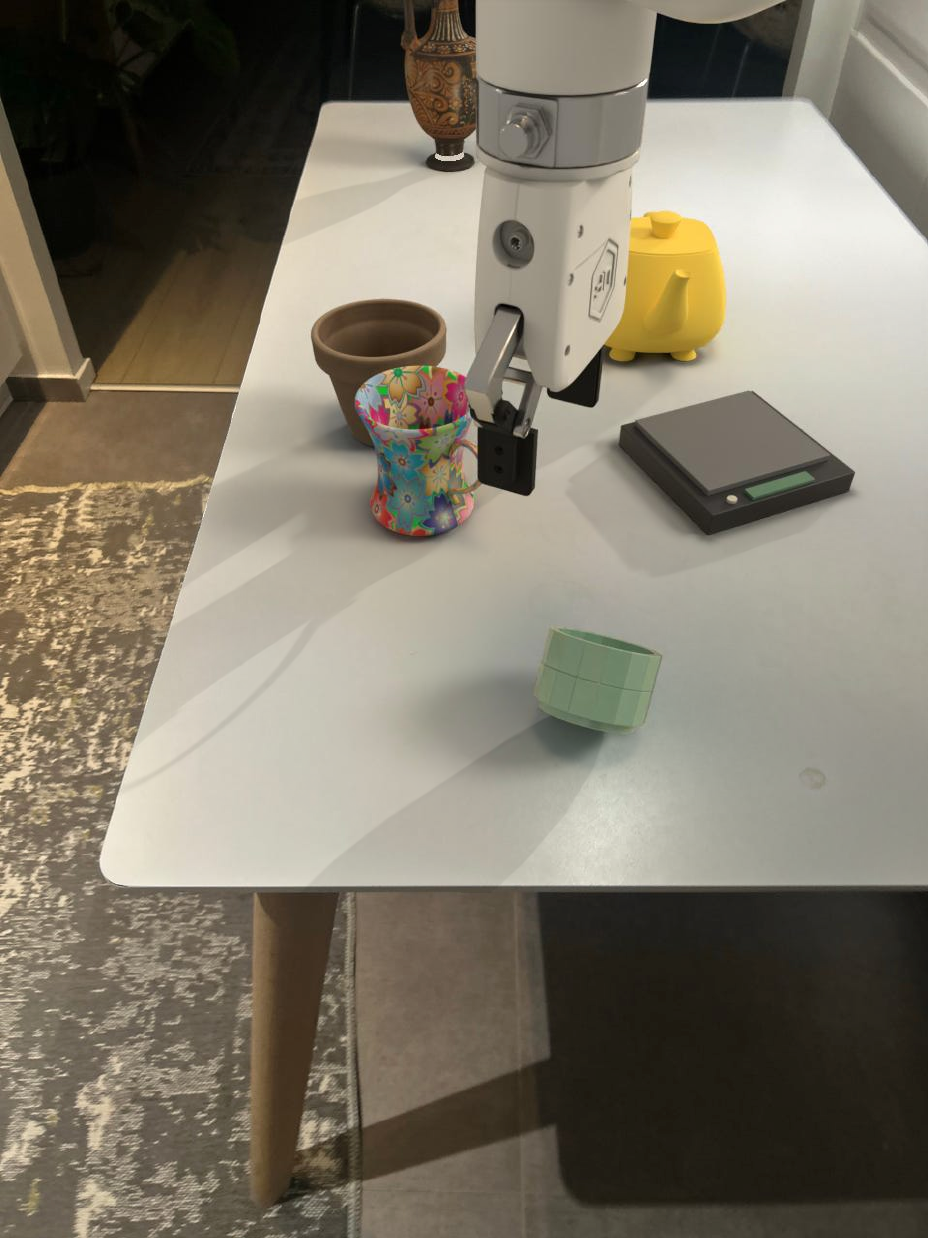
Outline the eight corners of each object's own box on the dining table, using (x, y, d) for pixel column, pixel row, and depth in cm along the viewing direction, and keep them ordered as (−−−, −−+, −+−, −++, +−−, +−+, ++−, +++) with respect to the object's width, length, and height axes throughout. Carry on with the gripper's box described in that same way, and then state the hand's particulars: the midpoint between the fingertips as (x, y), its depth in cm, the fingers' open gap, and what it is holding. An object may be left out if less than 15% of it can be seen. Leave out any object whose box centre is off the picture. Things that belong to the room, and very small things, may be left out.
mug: (343, 509, 76) (328, 395, 68) (427, 463, 80) (422, 352, 73) (441, 580, 70) (437, 463, 62) (526, 526, 74) (532, 411, 67)
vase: (498, 172, 131) (501, -93, 110) (412, 180, 129) (399, -88, 108) (478, 145, 139) (478, -106, 118) (397, 152, 137) (382, -102, 116)
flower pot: (359, 385, 90) (349, 286, 83) (467, 408, 87) (466, 307, 80) (300, 448, 82) (284, 344, 75) (416, 476, 79) (410, 370, 72)
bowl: (664, 741, 56) (685, 662, 55) (571, 730, 53) (593, 645, 52) (597, 707, 62) (616, 636, 62) (511, 696, 59) (530, 620, 58)
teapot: (700, 301, 102) (721, 180, 93) (737, 397, 87) (766, 266, 78) (575, 302, 102) (585, 181, 93) (592, 398, 88) (605, 267, 79)
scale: (849, 491, 77) (858, 465, 75) (707, 535, 73) (713, 509, 71) (748, 409, 86) (754, 384, 84) (618, 444, 82) (621, 419, 80)
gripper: (565, 197, 35) (542, 547, 47) (696, 78, 46) (650, 385, 58) (391, 168, 37) (412, 507, 49) (555, 61, 48) (539, 360, 60)
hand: (540, 441), depth 53 cm, fingers open, 9 cm apart
